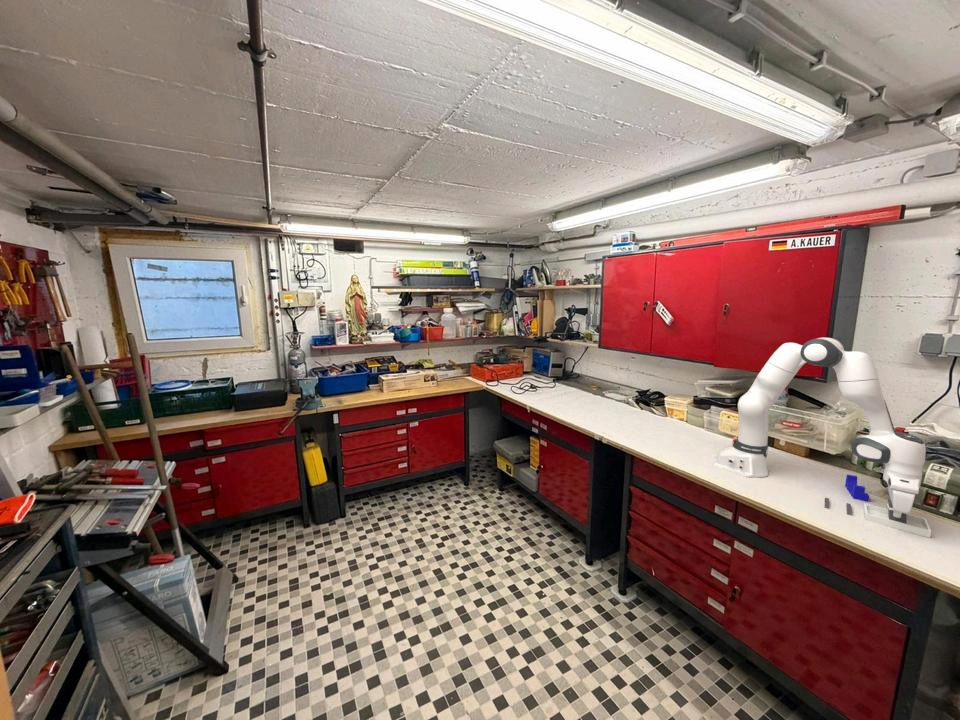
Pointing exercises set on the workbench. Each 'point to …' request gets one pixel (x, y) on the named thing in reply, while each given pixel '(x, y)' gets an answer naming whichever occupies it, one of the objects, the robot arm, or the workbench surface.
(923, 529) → the tray
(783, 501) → the workbench surface
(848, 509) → the holder
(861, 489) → the blue stepped block
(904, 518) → the grey block
